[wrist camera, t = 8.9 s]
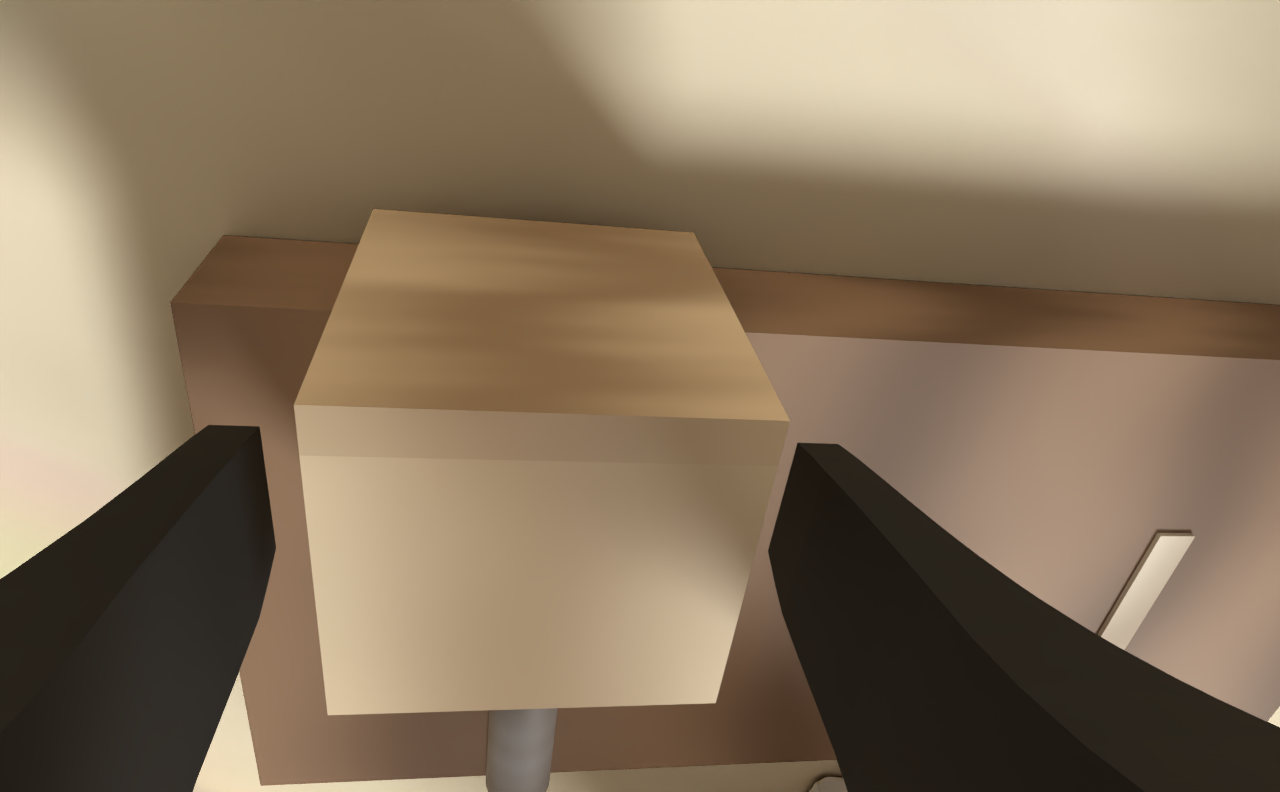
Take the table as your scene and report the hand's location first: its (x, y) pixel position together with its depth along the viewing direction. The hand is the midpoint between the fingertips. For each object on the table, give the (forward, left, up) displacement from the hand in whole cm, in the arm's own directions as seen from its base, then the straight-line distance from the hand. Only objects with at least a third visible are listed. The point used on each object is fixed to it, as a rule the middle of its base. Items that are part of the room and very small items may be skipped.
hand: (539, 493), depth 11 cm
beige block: (0, +1, -3) cm, 4 cm away
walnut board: (-7, +4, -5) cm, 9 cm away
